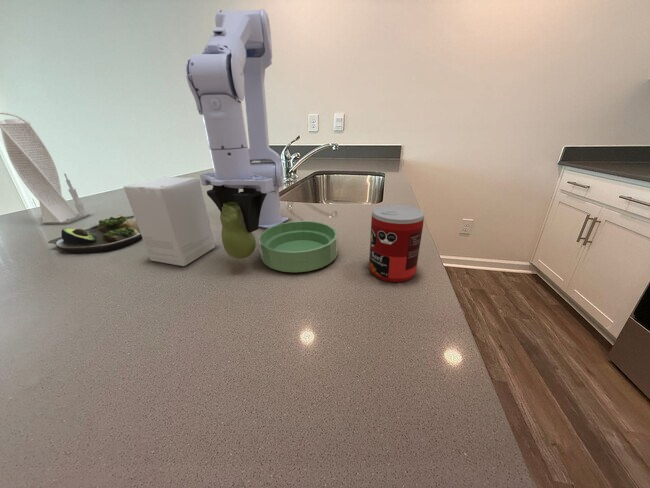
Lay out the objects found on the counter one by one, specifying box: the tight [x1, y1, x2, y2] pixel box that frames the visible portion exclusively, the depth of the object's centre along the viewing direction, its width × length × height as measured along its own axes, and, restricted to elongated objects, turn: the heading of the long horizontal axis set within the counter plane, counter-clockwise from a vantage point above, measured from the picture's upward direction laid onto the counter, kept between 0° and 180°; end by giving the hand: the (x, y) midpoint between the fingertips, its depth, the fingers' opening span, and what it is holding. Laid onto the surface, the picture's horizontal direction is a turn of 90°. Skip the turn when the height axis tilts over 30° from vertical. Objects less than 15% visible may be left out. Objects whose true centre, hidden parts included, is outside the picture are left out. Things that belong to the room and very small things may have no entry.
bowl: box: [258, 220, 339, 273], centre depth 51 cm, size 15×15×4 cm
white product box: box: [123, 176, 216, 267], centre depth 50 cm, size 9×9×15 cm
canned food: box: [368, 204, 425, 283], centre depth 43 cm, size 8×8×11 cm
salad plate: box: [47, 214, 142, 254], centre depth 62 cm, size 19×18×5 cm
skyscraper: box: [0, 111, 90, 225], centre depth 68 cm, size 8×8×28 cm
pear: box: [219, 202, 257, 260], centre depth 44 cm, size 6×5×10 cm
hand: (243, 228), depth 46 cm, fingers closed on pear, 4 cm apart
